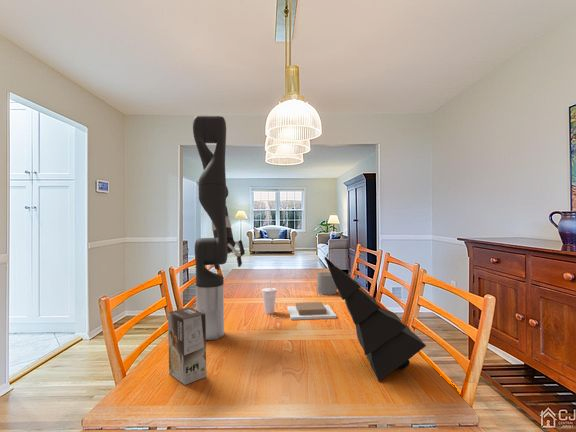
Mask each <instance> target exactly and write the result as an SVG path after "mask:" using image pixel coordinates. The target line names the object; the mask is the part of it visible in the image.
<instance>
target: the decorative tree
mask: <svg viewBox="0 0 576 432" xmlns="http://www.w3.org/2000/svg"><path fill="white" fill-rule="evenodd" d="M324 260H325V262H326V264H327V267H328V271H329V272H330V273H331V275H332V278H333V280H334V283H335V285H336V287H337V292H338V294H339V296H340V298H341V300H343V301H344V302H345V303H344V304H345V306H346V309H347V311H348V313H349V315H350V316H351V319H352V322H353V324H354V325H355V331H356V337H357V339H358V342H359V344H360V347H361V348H362V350H363V352H364V356H366V359H368V362H369V364H370V367H371V370H372V371H373V374H374V375H375V377H376V380H377V381H378V382H380V381H382V379H384V378H386V377H387V376H388V375H389V374H391V373H393V372H394V371H395V370H397V369H398V370H401V371H402V370H404V369H406V368H408V366H409V365H410V359H412V357H414V356H415V355H416V354H418V353H419V352H421V350H423V349H424V348H425V347H427V345H426V344H425V342H424V341H423V340H422V339H421V338H420V337H419V336H418V335H417V334H416V333H414V332H413V331H411V330H412V329H410V327H409V326H408V325H407V324H404V323H403V322H402V320H401V319H400V318H399V316H398V315H397V314H396V313H394V312H393V311H391V310H389V309H385V308H384V307H381V306H380V305H379V304H378V301H377V300H376V298H375V297H373V296H371V295H370V294H368V293H367V292H366V291H364V290H361V289H360V288H362V286H361V285H360V284H359V283H358V282H357V281H356V280H354V279H353V278H352V277H351V276H350V275H348V274H347V273H346V272H345V271H343V269H340V268H339V267H337V266H336V265H335V263H333V262H331V261H330V259H328V257H327V256H324Z"/></svg>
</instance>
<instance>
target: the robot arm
mask: <svg viewBox="0 0 576 432" xmlns="http://www.w3.org/2000/svg"><path fill="white" fill-rule="evenodd" d="M226 123H227V122H226V119H225V117H223V116H221V115H220V116H219V115H196V116H194V118H193V120H192V132H193V138H194V139H193V140H194V142H195V145H196V148H197V153H198V155H199V158H200V160H201V165H202V169H203V171H202V173H201V174H200V177H199V179H198V201H199V203H200V205H201V207H202V208H203V210H204V211H205V212H206V214H207V216H208V217H209V218H210V220H211V228H212V229H211V231H212V234H213V237H200V238H197V239H195V240H196V241H195V243H194V263H195V310H197V311H199V312H202V313H205V318H206V341H207V340H208V341H210V340H219V339H220V338H222V337H223V336H224V335H225V306H224V305H225V298H224V290H225V289H224V286H225V285H224V280H225V279H224V276H223V275H222V274H219V273H216V272H217V271H218V272H219V271H220V266H219V265H226V263H227V261H228V254H231V253H232V254H233V255H234V256H235V257H236V262H237V267H238V268H240V267H241V266H242V264H243V261H242V257H243V256H244V255H245V253H246V252H245V251H246V250H245V248H244V244H243V241H242V240H241V239H240V240H239V241H235V240H234V236H233V229H232V223H231V219H230V218H229V217H230V216H229V212H228V208H227V198H228V196H229V188H228V186H227V179H226V177H227V176H226V147H227V146H226V144H227V124H226ZM207 144H216V145H215V149H214V153H213V152H212V151H211V150H210V148H209V147H208V145H207ZM235 246H236V247H238V248H239V251H238V250H237V248H235ZM206 266H214V269H215V270H216V272H213V271H211V270H209V269H207V267H206Z"/></svg>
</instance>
